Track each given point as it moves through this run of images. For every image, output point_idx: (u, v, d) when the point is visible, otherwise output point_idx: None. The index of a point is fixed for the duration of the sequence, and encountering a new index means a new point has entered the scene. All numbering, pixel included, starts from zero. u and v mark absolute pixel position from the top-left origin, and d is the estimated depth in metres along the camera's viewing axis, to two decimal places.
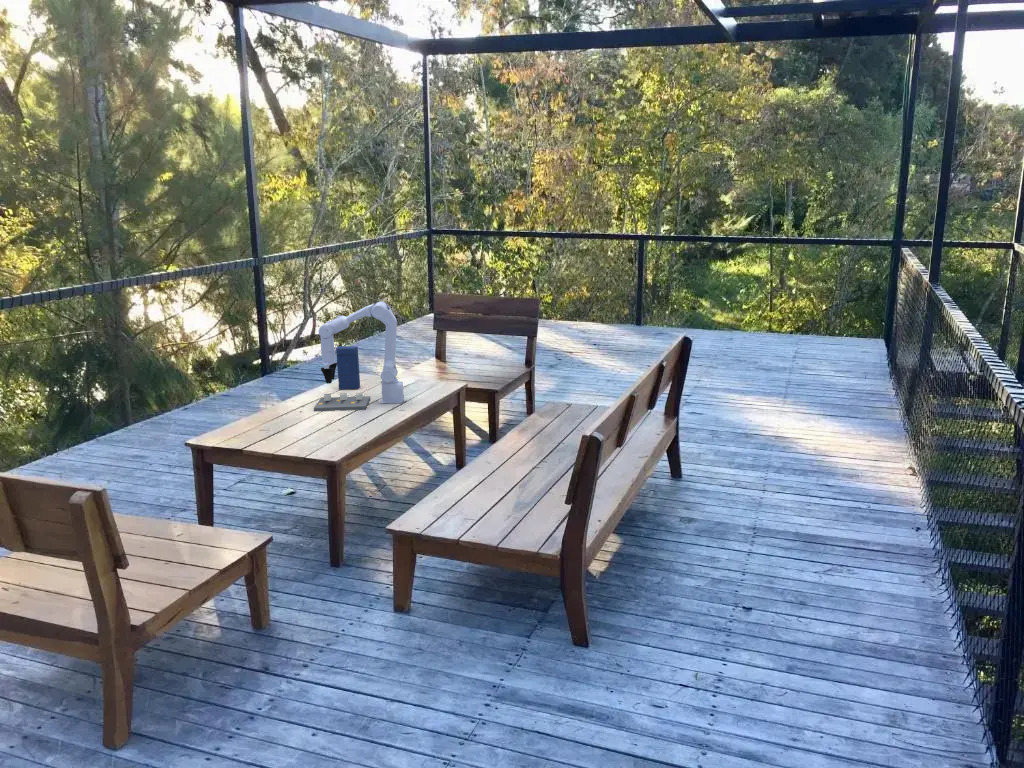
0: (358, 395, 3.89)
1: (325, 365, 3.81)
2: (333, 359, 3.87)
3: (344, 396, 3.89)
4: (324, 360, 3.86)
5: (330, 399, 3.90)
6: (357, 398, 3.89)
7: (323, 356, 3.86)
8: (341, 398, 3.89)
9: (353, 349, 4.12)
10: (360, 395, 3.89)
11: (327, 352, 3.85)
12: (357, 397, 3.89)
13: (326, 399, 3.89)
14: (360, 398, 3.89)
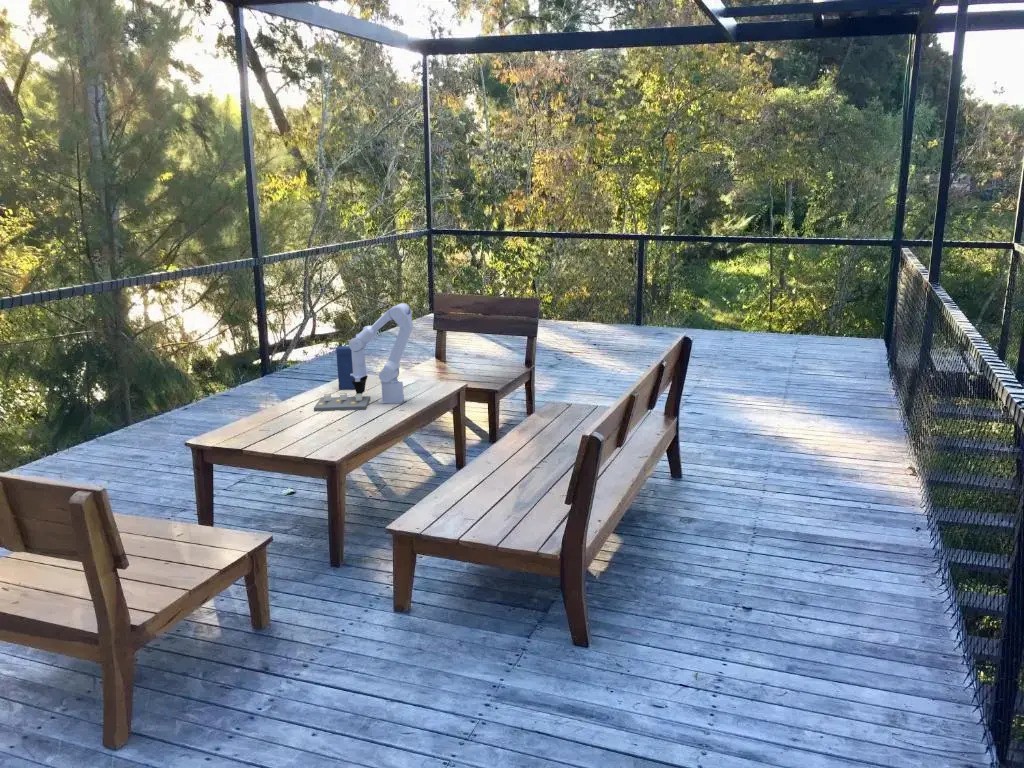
0: (358, 396, 3.87)
1: (356, 378, 3.86)
2: (364, 372, 3.91)
3: (344, 396, 3.89)
4: (355, 373, 3.90)
5: (330, 399, 3.90)
6: (357, 399, 3.88)
7: (354, 369, 3.90)
8: (341, 398, 3.89)
9: None
10: (360, 396, 3.87)
11: (358, 365, 3.89)
12: (357, 398, 3.88)
13: (326, 399, 3.89)
14: (360, 399, 3.88)
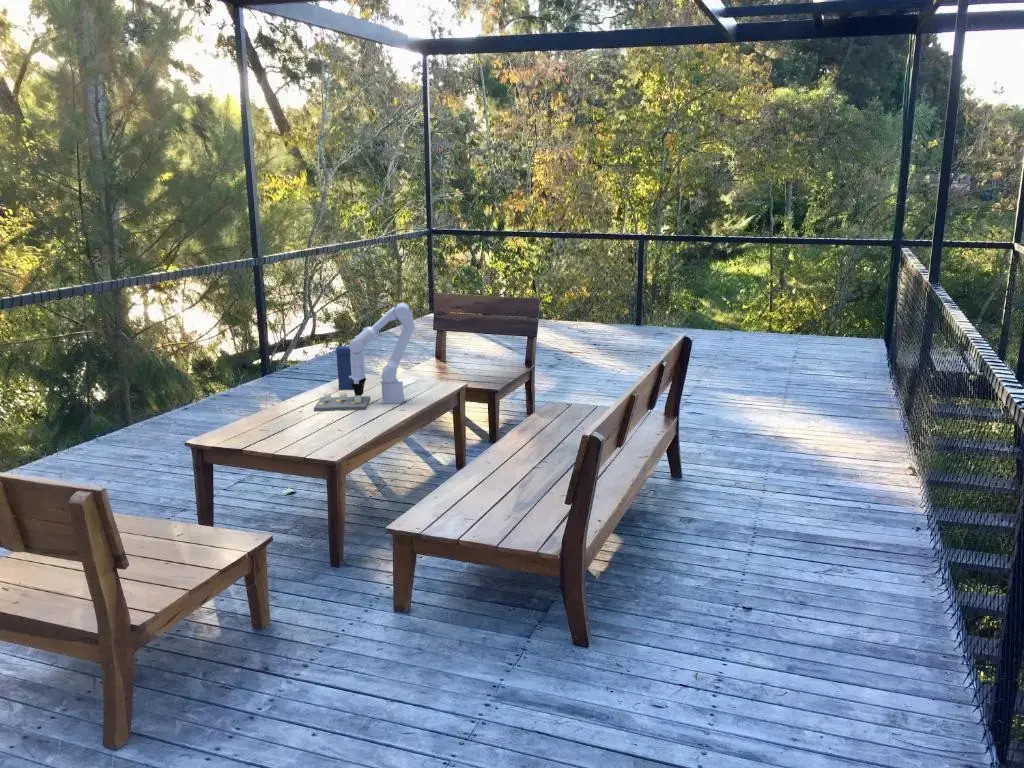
0: (356, 398, 3.84)
1: (355, 380, 3.82)
2: (363, 374, 3.87)
3: (344, 396, 3.89)
4: (354, 375, 3.86)
5: (330, 399, 3.90)
6: (355, 401, 3.84)
7: (353, 371, 3.86)
8: (341, 398, 3.89)
9: None
10: (358, 398, 3.84)
11: (357, 367, 3.85)
12: (355, 400, 3.84)
13: (326, 399, 3.89)
14: (358, 401, 3.84)
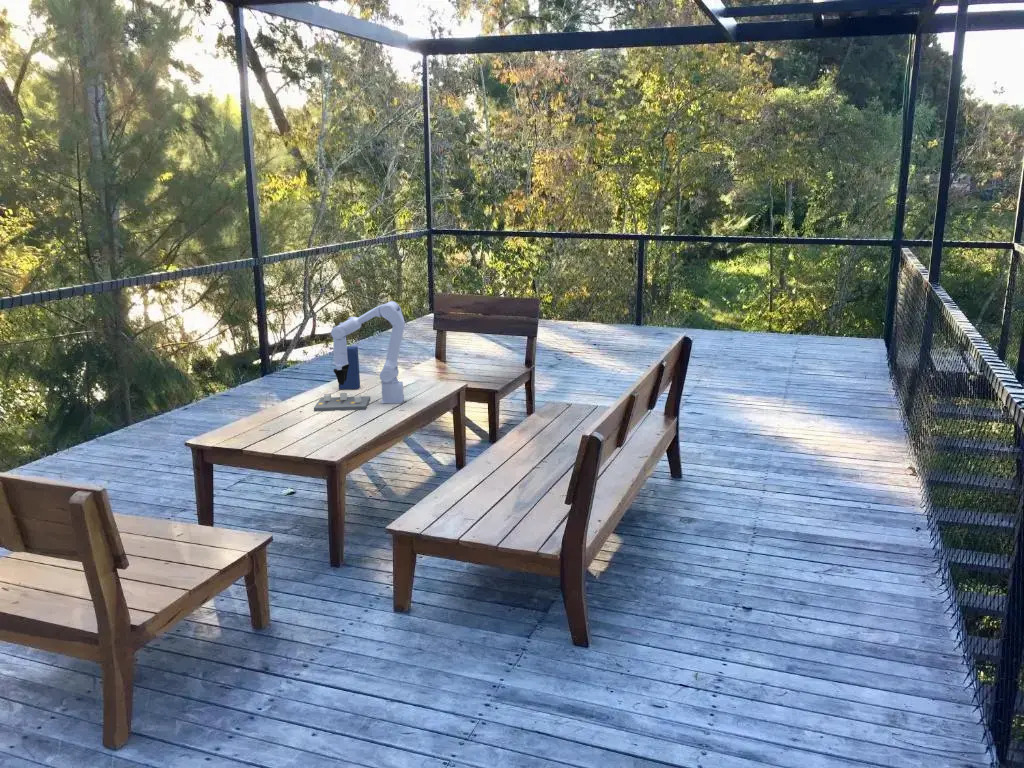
0: (356, 398, 3.84)
1: (338, 366, 3.84)
2: (346, 360, 3.90)
3: (344, 396, 3.89)
4: (337, 361, 3.89)
5: (330, 399, 3.90)
6: (355, 401, 3.84)
7: (336, 357, 3.88)
8: (341, 398, 3.89)
9: (353, 349, 4.12)
10: (359, 398, 3.84)
11: (340, 354, 3.88)
12: (355, 400, 3.84)
13: (326, 399, 3.89)
14: (359, 401, 3.84)
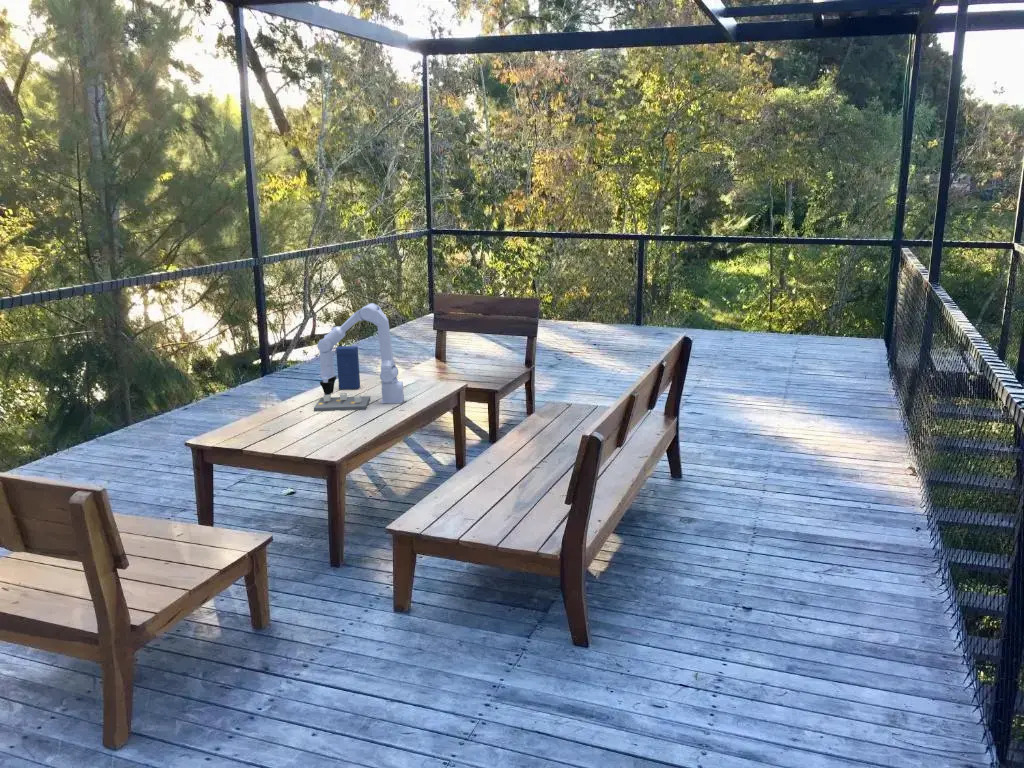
0: (356, 398, 3.84)
1: (324, 379, 3.86)
2: (332, 373, 3.91)
3: (344, 396, 3.89)
4: (323, 374, 3.90)
5: None
6: (355, 401, 3.84)
7: (322, 370, 3.90)
8: (341, 398, 3.89)
9: (353, 349, 4.12)
10: (359, 398, 3.84)
11: (326, 366, 3.89)
12: (355, 400, 3.84)
13: (325, 400, 3.87)
14: (359, 401, 3.84)
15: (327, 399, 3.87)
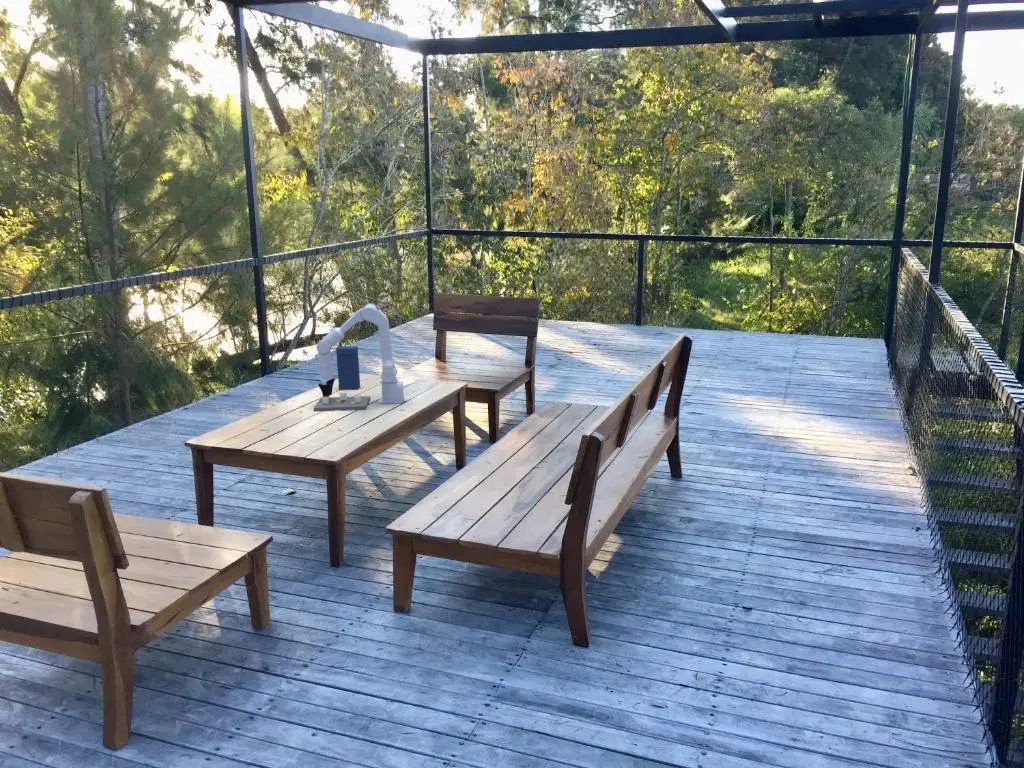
0: (356, 398, 3.84)
1: (322, 381, 3.82)
2: (331, 375, 3.87)
3: (344, 396, 3.89)
4: (322, 376, 3.86)
5: (328, 402, 3.85)
6: (355, 401, 3.84)
7: (321, 372, 3.86)
8: (341, 398, 3.89)
9: (353, 349, 4.12)
10: (359, 398, 3.84)
11: (325, 368, 3.85)
12: (355, 400, 3.84)
13: (324, 402, 3.84)
14: (359, 401, 3.84)
15: (326, 401, 3.84)
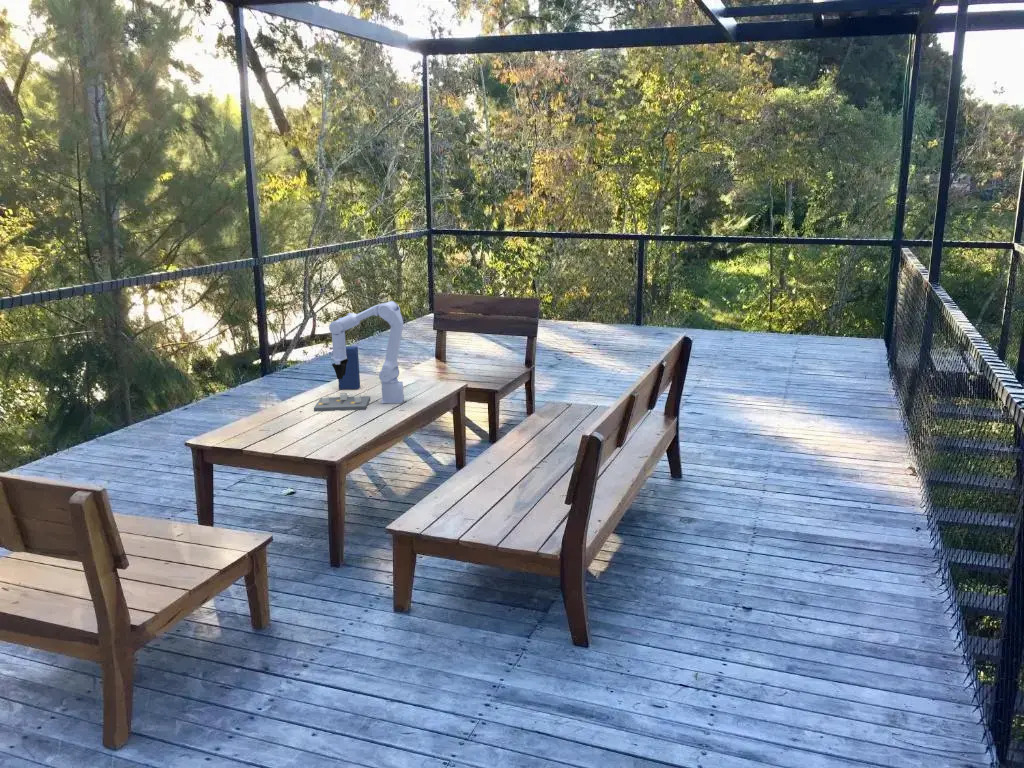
0: (356, 398, 3.84)
1: (336, 361, 3.86)
2: (344, 355, 3.92)
3: (344, 396, 3.89)
4: (335, 356, 3.91)
5: (328, 402, 3.85)
6: (355, 401, 3.84)
7: (334, 352, 3.90)
8: (341, 398, 3.89)
9: (353, 349, 4.12)
10: (359, 398, 3.84)
11: (338, 348, 3.90)
12: (355, 400, 3.84)
13: (324, 402, 3.84)
14: (359, 401, 3.84)
15: (326, 401, 3.84)
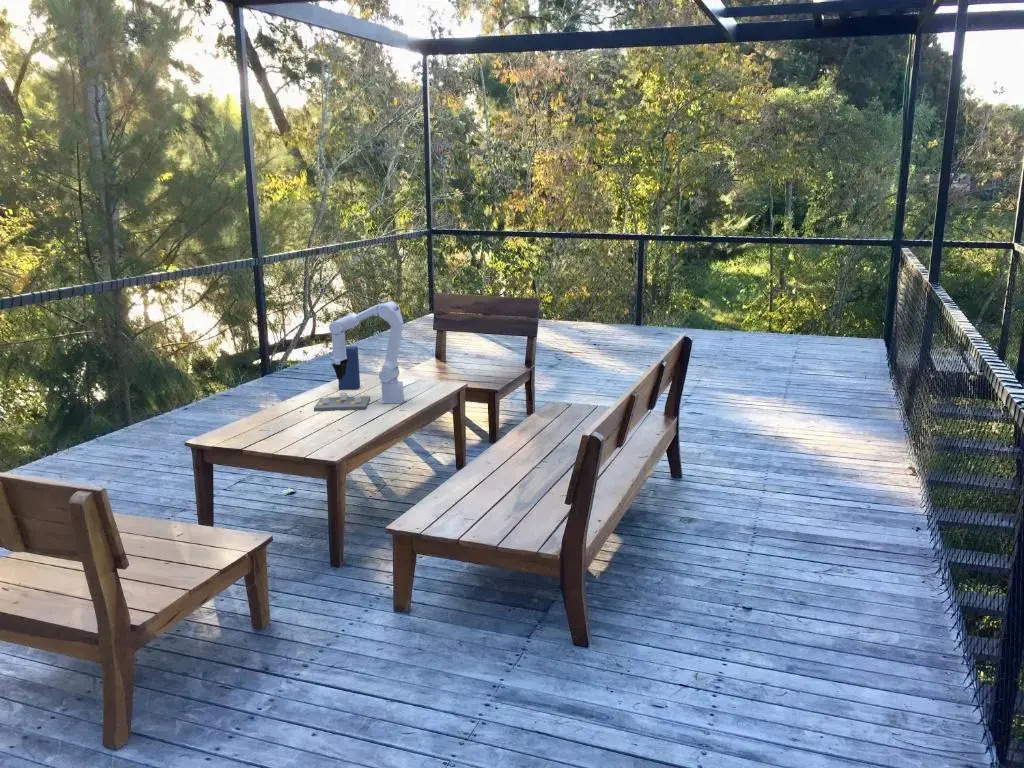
0: (356, 398, 3.84)
1: (336, 361, 3.86)
2: (344, 355, 3.92)
3: (344, 396, 3.89)
4: (335, 356, 3.91)
5: (328, 402, 3.85)
6: (355, 401, 3.84)
7: (334, 352, 3.90)
8: (341, 398, 3.89)
9: (353, 349, 4.12)
10: (359, 398, 3.84)
11: (338, 348, 3.90)
12: (355, 400, 3.84)
13: (324, 402, 3.84)
14: (359, 401, 3.84)
15: (326, 401, 3.84)
